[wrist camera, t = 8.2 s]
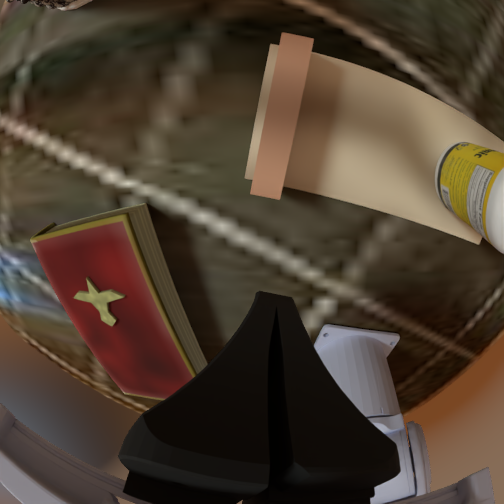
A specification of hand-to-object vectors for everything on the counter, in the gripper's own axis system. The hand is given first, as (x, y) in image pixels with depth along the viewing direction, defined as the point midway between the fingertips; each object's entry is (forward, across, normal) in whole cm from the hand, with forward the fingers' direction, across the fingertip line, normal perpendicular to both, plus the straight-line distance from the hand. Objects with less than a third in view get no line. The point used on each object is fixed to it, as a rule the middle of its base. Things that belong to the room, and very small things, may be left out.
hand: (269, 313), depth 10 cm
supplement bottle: (+9, -12, -7) cm, 17 cm away
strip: (+9, -7, -7) cm, 14 cm away
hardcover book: (+10, +11, +12) cm, 19 cm away
